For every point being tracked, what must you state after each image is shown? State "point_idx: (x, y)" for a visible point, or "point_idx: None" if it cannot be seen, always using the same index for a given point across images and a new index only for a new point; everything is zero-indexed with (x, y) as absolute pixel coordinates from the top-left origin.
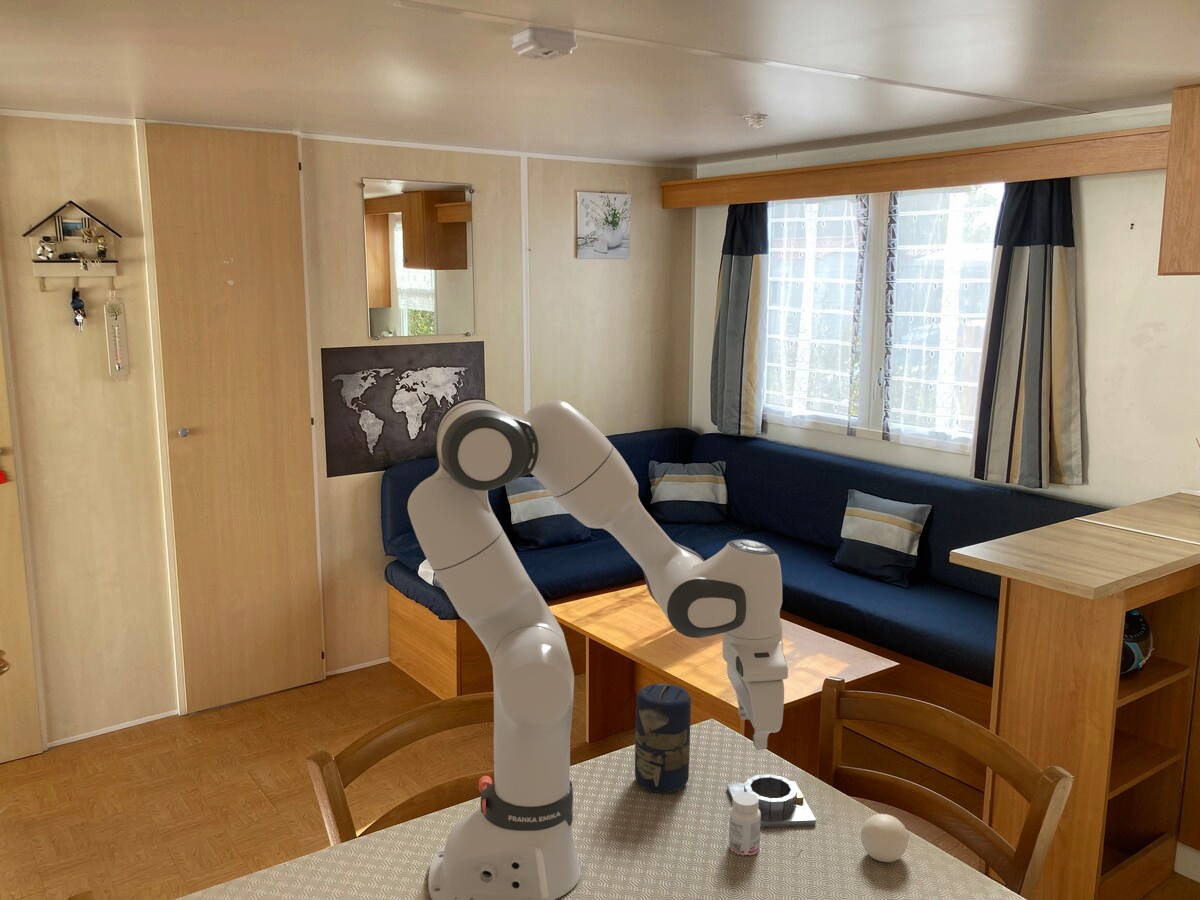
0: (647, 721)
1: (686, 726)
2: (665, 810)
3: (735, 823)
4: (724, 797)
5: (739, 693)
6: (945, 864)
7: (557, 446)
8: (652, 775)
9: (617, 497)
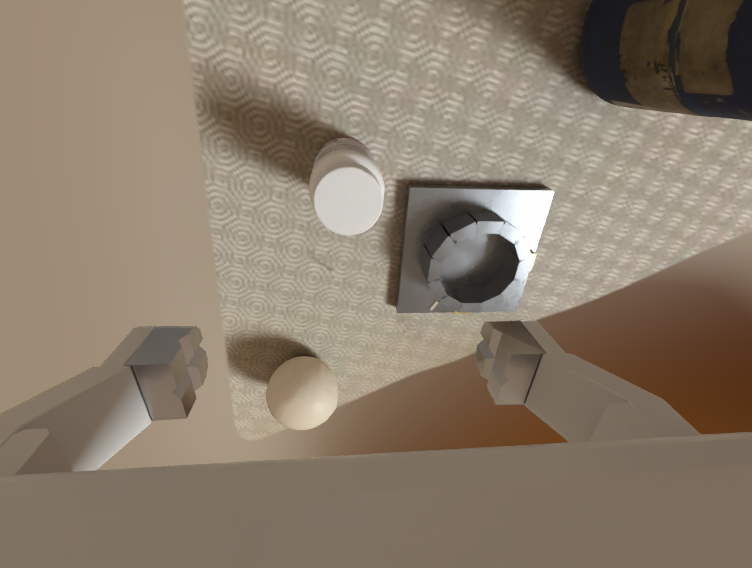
0: None
1: (744, 92)
2: (519, 5)
3: (322, 156)
4: (522, 174)
5: (419, 550)
6: None
7: None
8: None
9: None
